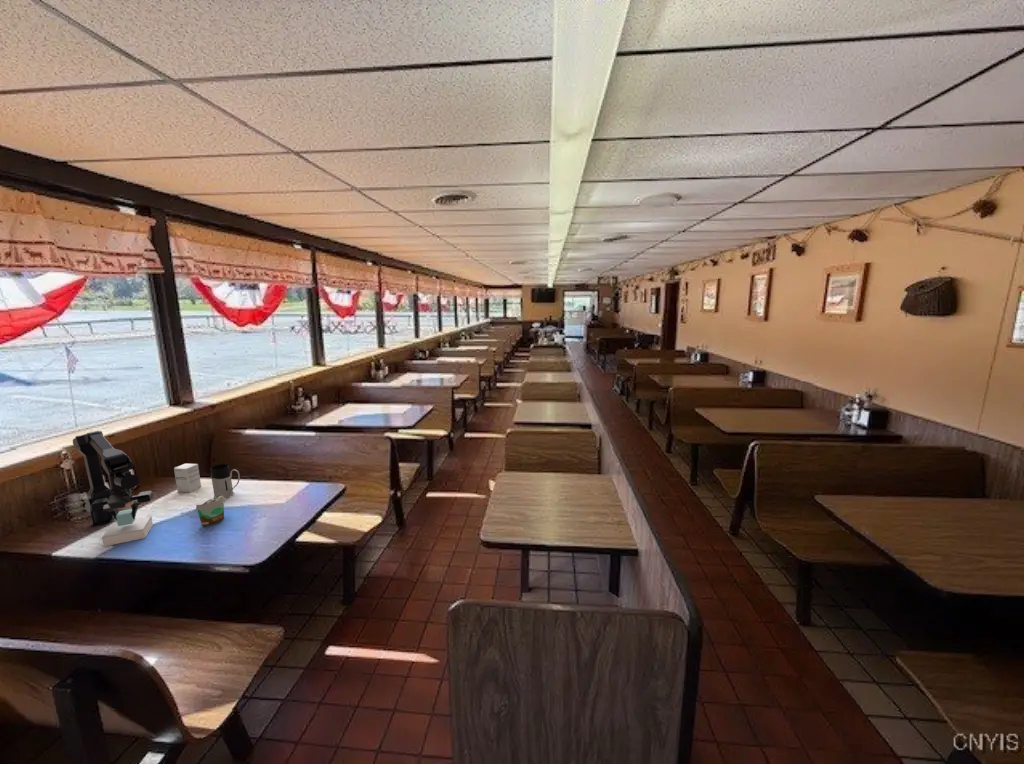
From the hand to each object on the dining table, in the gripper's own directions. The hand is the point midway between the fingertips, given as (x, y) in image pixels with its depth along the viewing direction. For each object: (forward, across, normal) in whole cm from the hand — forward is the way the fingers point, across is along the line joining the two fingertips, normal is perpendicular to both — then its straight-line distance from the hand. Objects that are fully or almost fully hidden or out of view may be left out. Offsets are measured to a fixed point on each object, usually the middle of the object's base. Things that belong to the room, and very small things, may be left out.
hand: (126, 520), depth 186 cm
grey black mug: (+7, +33, +24) cm, 41 cm away
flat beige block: (+6, 0, 0) cm, 6 cm away
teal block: (+1, 0, 0) cm, 1 cm away
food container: (+7, +31, -4) cm, 32 cm away
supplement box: (+7, +14, +44) cm, 47 cm away
